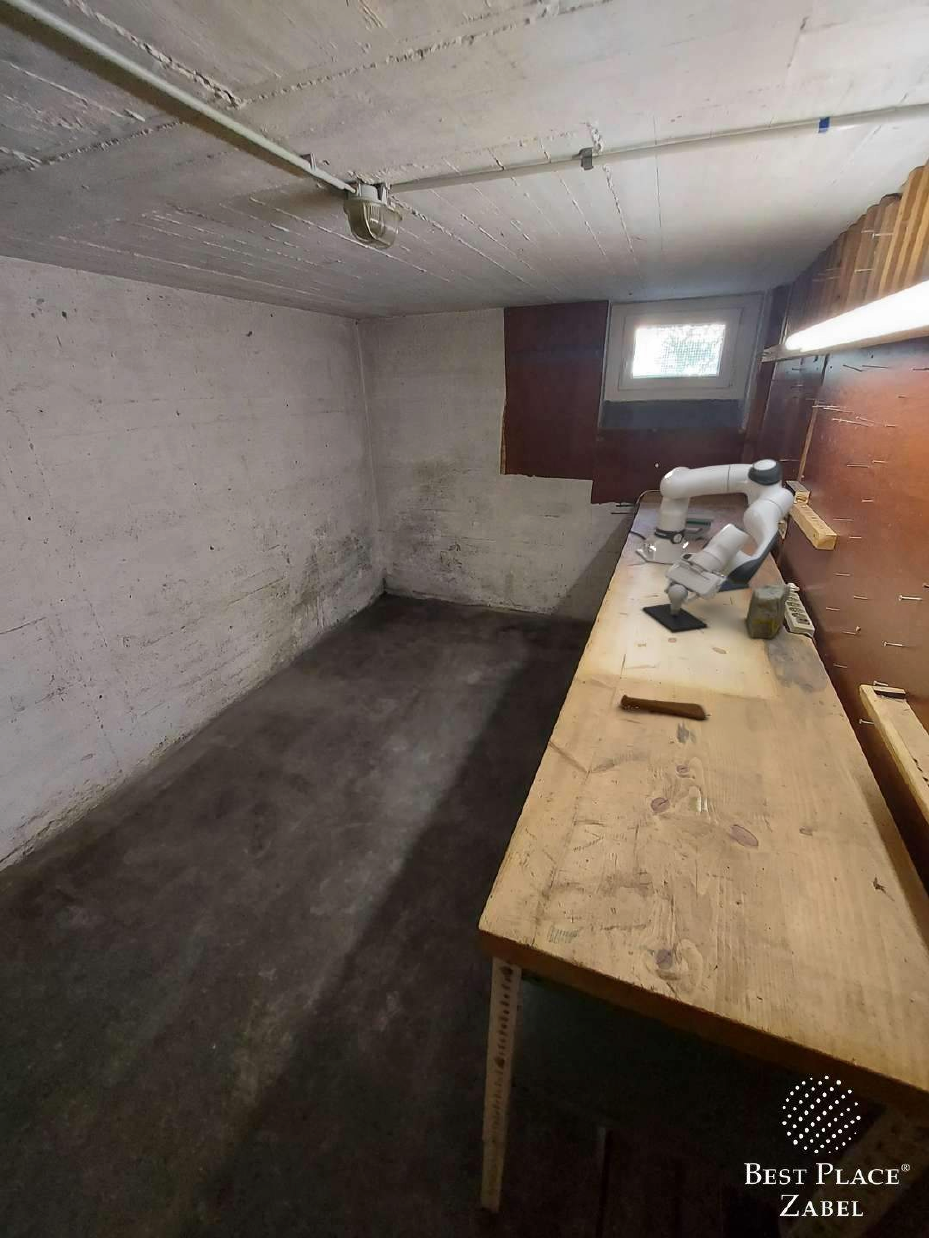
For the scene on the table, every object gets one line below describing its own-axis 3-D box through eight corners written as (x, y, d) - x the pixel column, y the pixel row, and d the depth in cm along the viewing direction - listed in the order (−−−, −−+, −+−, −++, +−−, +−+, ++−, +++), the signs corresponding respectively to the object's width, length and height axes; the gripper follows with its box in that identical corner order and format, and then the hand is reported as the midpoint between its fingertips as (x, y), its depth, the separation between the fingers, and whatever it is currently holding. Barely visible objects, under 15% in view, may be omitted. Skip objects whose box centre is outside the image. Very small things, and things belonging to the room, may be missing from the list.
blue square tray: (686, 578, 195) (688, 568, 193) (720, 573, 198) (722, 564, 196) (712, 592, 181) (714, 582, 179) (748, 587, 184) (750, 577, 182)
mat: (642, 609, 170) (643, 607, 170) (673, 605, 172) (673, 603, 172) (673, 632, 154) (673, 629, 154) (706, 627, 156) (706, 624, 156)
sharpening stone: (711, 537, 242) (715, 515, 238) (710, 541, 236) (714, 519, 231) (658, 532, 253) (661, 511, 249) (656, 536, 247) (659, 515, 242)
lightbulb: (685, 619, 159) (691, 589, 155) (666, 619, 161) (670, 588, 156) (682, 612, 165) (687, 582, 160) (663, 611, 166) (667, 581, 161)
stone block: (749, 638, 149) (760, 593, 142) (745, 618, 161) (755, 576, 154) (787, 643, 145) (800, 597, 138) (781, 622, 157) (792, 579, 150)
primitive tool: (699, 706, 119) (701, 694, 118) (706, 720, 114) (708, 708, 113) (619, 702, 122) (620, 691, 120) (622, 716, 117) (624, 704, 116)
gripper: (733, 582, 150) (701, 615, 152) (688, 562, 168) (660, 592, 170) (724, 571, 147) (691, 605, 149) (679, 552, 165) (651, 582, 167)
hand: (674, 598), depth 160 cm, fingers open, 8 cm apart
